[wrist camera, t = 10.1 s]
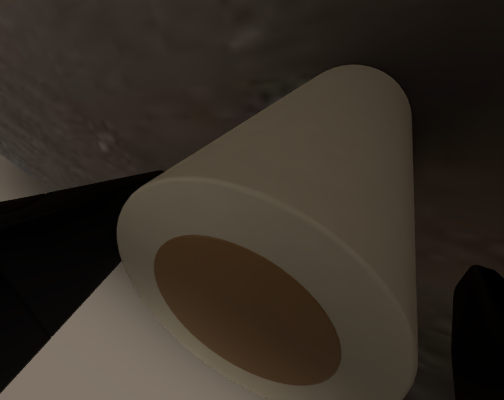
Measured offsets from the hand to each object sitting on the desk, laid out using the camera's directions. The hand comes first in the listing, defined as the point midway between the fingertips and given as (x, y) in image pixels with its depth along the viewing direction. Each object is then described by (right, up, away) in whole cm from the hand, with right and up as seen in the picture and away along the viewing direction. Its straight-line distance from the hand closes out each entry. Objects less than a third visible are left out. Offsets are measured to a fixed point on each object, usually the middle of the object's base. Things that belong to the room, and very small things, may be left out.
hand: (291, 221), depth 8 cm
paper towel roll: (+1, -1, +3) cm, 4 cm away
